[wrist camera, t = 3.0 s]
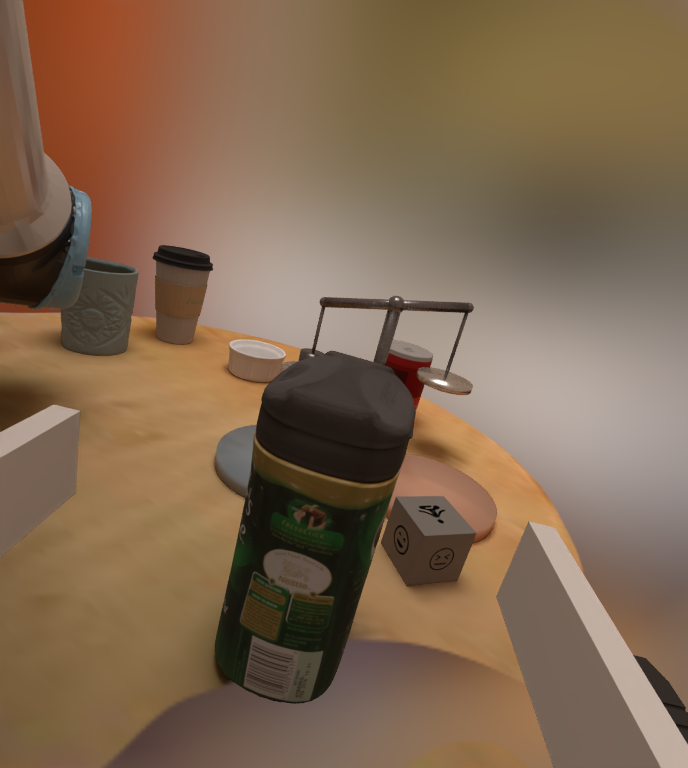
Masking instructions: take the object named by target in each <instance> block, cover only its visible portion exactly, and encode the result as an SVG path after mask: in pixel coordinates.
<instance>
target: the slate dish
mask: <svg viewBox="0 0 688 768" xmlns="http://www.w3.org/2000/svg"><path fill="white" fill-rule="evenodd" d="M256 426H257V425H251V426H245V427H241V428H238V429H235V430H233V431H231V432H229V433H227V434H226V435H224V436H223V437H222V438H221V440H220V441H219V443H218V446H217V451H216V457H215V468H216V472H217V474H218V476H219V477H220V478H221V480H222V481H223V482H224V483H225V484H226V485H227V486H228V487H229V488H231V489H232V490H233V491H235V492H236V493H238V494H240V495H241V496H243V497H245V498H246V493H247V488H248V482H249V476H250V469H251V461H252V451H253V439H254V433H255V430H256Z"/></svg>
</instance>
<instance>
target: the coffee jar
mask: <svg viewBox="0 0 688 768" xmlns="http://www.w3.org/2000/svg"><path fill="white" fill-rule="evenodd" d="M415 413H416V412H415V411H414V401H413V397H412V395H411V393H410V392H409V390H408V389H407V387H406V386H405V385H404V384H403V383H402V382H401V380H400V379H399V378H398V377H397V376H396V375H395V374H394V371H393V370H392V368H390V367H388V366H385V365H381V364H378V363H375V362H371V361H368V360H364V359H361V358H357V357H354V356H350V355H346V354H343V353H339V352H336V351H329V352H327V353H326V354H324V355H319V356H315V357H311V358H308V359H304V360H301V361H298V362H296V363H294V364H292V365H291V366H290V367H288V368H286V369H285V370H284V371H282V372H281V373H280V374H279V375H277V376H276V377H275V378H274V379H273V380H272V381H271V382H270V384H268V385H267V387H266V388H265V390H264V393H263V396H262V404H261V408H260V412H259V417H258V421H257V426H256V430H255V433H254V439H253V451H252V461H251V469H250V476H249V482H248V488H247V493H246V498H245V504H244V508H243V513H242V519H241V523H240V528H239V533H238V538H237V543H236V548H235V553H234V558H233V562H232V567H231V572H230V576H229V581H228V585H227V589H226V594H225V599H224V603H223V608H222V612H221V617H220V621H219V626H218V631H217V635H216V641H215V655H216V660H217V662H218V665H219V667H220V668H221V670H222V671H223V673H224V674H225V675H226V676H227V677H228V678H229V679H231V680H232V681H233V682H235V683H236V684H238V685H239V686H241V687H242V688H244V689H246V690H247V691H250V692H252V693H254V694H256V695H258V696H260V697H263V698H267V699H270V700H273V701H278V702H286V703H305V702H309V701H312V700H314V699H316V698H317V697H319V696H320V695H322V694H323V693H324V692H325V691H326V690H327V689H328V687H329V686H330V685H331V683H332V681H333V679H334V676H335V674H336V672H337V669H338V666H339V663H340V660H341V657H342V654H343V651H344V648H345V645H346V642H347V639H348V636H349V633H350V630H351V626H352V623H353V619H354V616H355V613H356V609H357V606H358V603H359V599H360V596H361V593H362V590H363V586H364V583H365V580H366V577H367V574H368V571H369V568H370V565H371V561H372V558H373V555H374V552H375V549H376V545H377V542H378V539H379V536H380V533H381V529H382V526H383V523H384V519H385V516H386V513H387V510H388V507H389V504H390V500H391V497H392V494H393V491H394V488H395V485H396V482H397V479H398V476H399V473H400V470H401V467H402V464H403V461H404V458H405V455H406V450H407V445H408V442H409V439H411V438H412V437H413V427H414V419H415Z"/></svg>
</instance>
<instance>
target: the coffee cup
mask: <svg viewBox="0 0 688 768" xmlns="http://www.w3.org/2000/svg"><path fill="white" fill-rule="evenodd" d="M153 259H154V260H156V276H155V309H156V335H157V338H158V339H160V340H162V341H165V342H168V343H173V344H188V343H191V342H192V340H193V337H194V333H195V329H196V325H197V321H198V317H199V316H200V312H201V309H202V305H203V301H204V297H205V292H206V289H207V280H208V277H209V272H210V271H212V270H213V268H212V266H213V264H212V263H210V257H209V255H206V254H204V253H201V252H198V251H194V250H190V249H186V248H180V247H174V246H165V245H161V246H159V249H158V252H155V253H154V256H153Z"/></svg>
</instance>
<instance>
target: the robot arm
mask: <svg viewBox="0 0 688 768" xmlns="http://www.w3.org/2000/svg"><path fill="white" fill-rule="evenodd" d="M43 151H44V150H43V144H42V136H41V129H40V122H39V115H38V108H37V100H36V94H35V86H34V79H33V72H32V65H31V58H30V51H29V43H28V36H27V29H26V22H25V15H24V7H23V0H0V303H5V304H14V305H22V306H28V307H29V308H31V309H40V308H54V309H66V308H69V307H71V306H73V305H74V304H75V303H76V302H77V300H78V298H79V295H80V292H81V288H82V283H83V277H84V267H85V264H86V259H87V253H88V246H89V238H90V228H91V215H92V205H91V200H90V198H89V196H88V195H87V194H85V193H84V192H82V191H79V190H76V189H75V188H74V187H72V186H68V184H67V181H66V179H65V178H64V175H63V174H62V173H61V171H60V169H59V168H58V167H57V166H56V164H55V163H54V162H53V161H52V160H51V159H50V158H49V157H48V156H47V155H46V154H45V153H44V152H43ZM79 424H80V411H78V410H74V409H70V408H66V407H62V406H58V405H52V406H50V407H48V408H46V409H44V410H42V411H40V412H38V413H36V414H34V415H33V416H31V417H29V418H27V419H25V420H23V421H21V422H19V423H17V424H15V425H13V426H11V427H9V428H7V429H5V430H4V431H2V432H0V557H2V556H3V555H4V554H5V553H6V552H7V551H9V550H10V549H11V548H12V547H13V546H14V545H16V544H17V543H18V542H19V541H20V540H22V539H23V538H24V537H25V536H26V535H27V534H29V533H30V532H31V531H32V530H33V529H34V528H36V527H37V526H38V525H39V524H40V523H41V522H43V521H44V520H45V519H46V518H47V517H49V516H50V515H51V514H52V513H53V512H54V511H56V510H57V509H58V508H59V507H60V506H61V505H63V504H64V503H65V502H66V501H67V500H68V499H70V498H71V497H72V496H73V495H74V494H76V478H77V460H78V442H79ZM496 597H497V600H498V603H499V606H500V609H501V612H502V615H503V618H504V621H505V624H506V627H507V630H508V633H509V636H510V639H511V642H512V645H513V648H514V651H515V654H516V657H517V660H518V663H519V666H520V669H521V672H522V675H523V678H524V681H525V684H526V687H527V690H528V693H529V696H530V698H531V701H532V704H533V707H534V710H535V713H536V716H537V719H538V722H539V725H540V728H541V731H542V734H543V737H544V740H545V743H546V746H547V749H548V752H549V755H550V758H551V761H552V764H553V767H554V768H688V712H686V711H685V708H686V707H685V706H684V704H683V703H682V701H681V700H680V698H679V697H678V695H677V694H676V692H675V691H674V689H673V688H672V686H671V685H670V683H669V682H668V681H667V680H666V679H665V678H664V677H663V676H662V675H661V674H660V672H658V671H657V669H656V668H655V667H654V666H653V665H652V664H651V663H650V662H649V661H648V660H647V659H646V658H643V657H639V656H635V655H633V654H632V653H631V651H630V650H629V648H628V647H627V645H626V643H625V641H624V640H623V638H622V637H621V635H620V633H619V632H618V630H617V628H616V627H615V625H614V624H613V622H612V620H611V619H610V617H609V615H608V614H607V612H606V611H605V609H604V607H603V606H602V604H601V603H600V601H599V599H598V597H597V596H596V594H595V593H594V591H593V589H592V588H591V586H590V584H589V583H588V581H587V580H586V578H585V576H584V575H583V573H582V571H581V570H580V568H579V567H578V565H577V563H576V562H575V560H574V558H573V557H572V555H571V554H570V552H569V550H568V549H567V547H566V545H565V544H564V542H563V540H562V539H561V537H560V536H559V534H558V532H557V531H556V529H555V528H553V527H549V526H545V525H541V524H537V523H533V522H528V524H527V527H526V529H525V531H524V534H523V536H522V538H521V541H520V543H519V545H518V547H517V550H516V552H515V554H514V557H513V559H512V561H511V564H510V566H509V568H508V571H507V573H506V575H505V578H504V580H503V582H502V584H501V587H500V589H499V591H498V594H497V596H496Z"/></svg>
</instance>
